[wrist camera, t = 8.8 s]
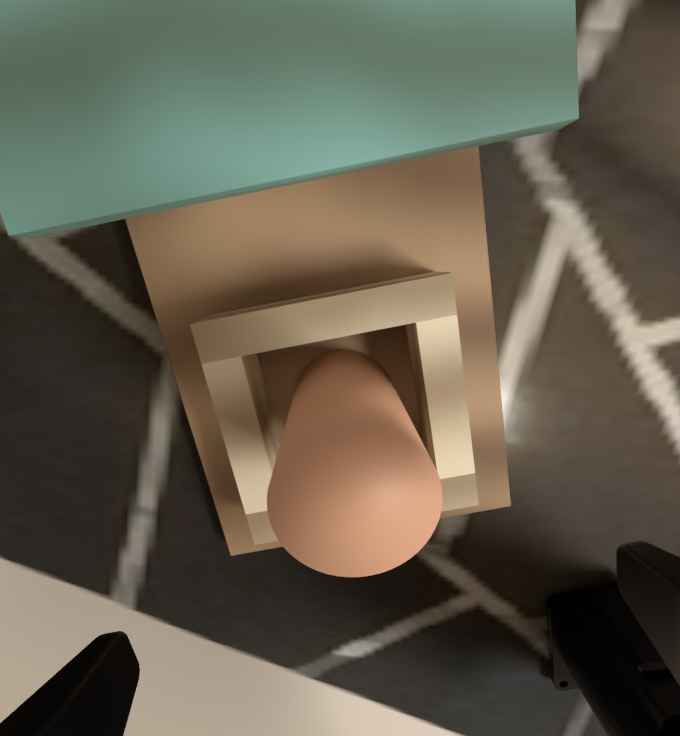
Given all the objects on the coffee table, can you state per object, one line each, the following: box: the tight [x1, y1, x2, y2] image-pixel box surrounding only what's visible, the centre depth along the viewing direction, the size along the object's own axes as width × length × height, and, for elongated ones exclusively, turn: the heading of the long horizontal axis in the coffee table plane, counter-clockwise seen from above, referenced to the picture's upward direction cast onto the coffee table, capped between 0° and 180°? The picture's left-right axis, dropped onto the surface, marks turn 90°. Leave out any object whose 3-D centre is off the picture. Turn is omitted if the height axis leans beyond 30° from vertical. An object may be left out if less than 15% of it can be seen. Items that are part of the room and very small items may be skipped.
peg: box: [267, 350, 443, 577], centre depth 14 cm, size 4×4×8 cm
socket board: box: [0, 0, 579, 556], centre depth 14 cm, size 20×14×7 cm
